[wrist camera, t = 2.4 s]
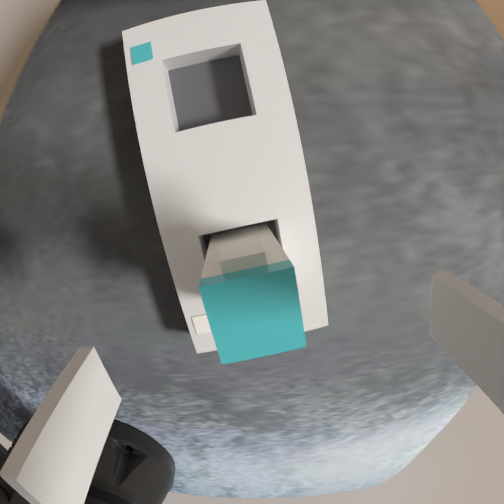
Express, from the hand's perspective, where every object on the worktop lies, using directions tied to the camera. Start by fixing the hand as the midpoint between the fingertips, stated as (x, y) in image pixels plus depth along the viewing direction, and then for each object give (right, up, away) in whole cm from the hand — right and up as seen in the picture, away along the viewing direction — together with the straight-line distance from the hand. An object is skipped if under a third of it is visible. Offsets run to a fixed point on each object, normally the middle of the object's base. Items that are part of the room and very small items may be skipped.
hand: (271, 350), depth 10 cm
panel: (-3, +9, +11) cm, 15 cm away
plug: (-1, +3, +12) cm, 13 cm away
